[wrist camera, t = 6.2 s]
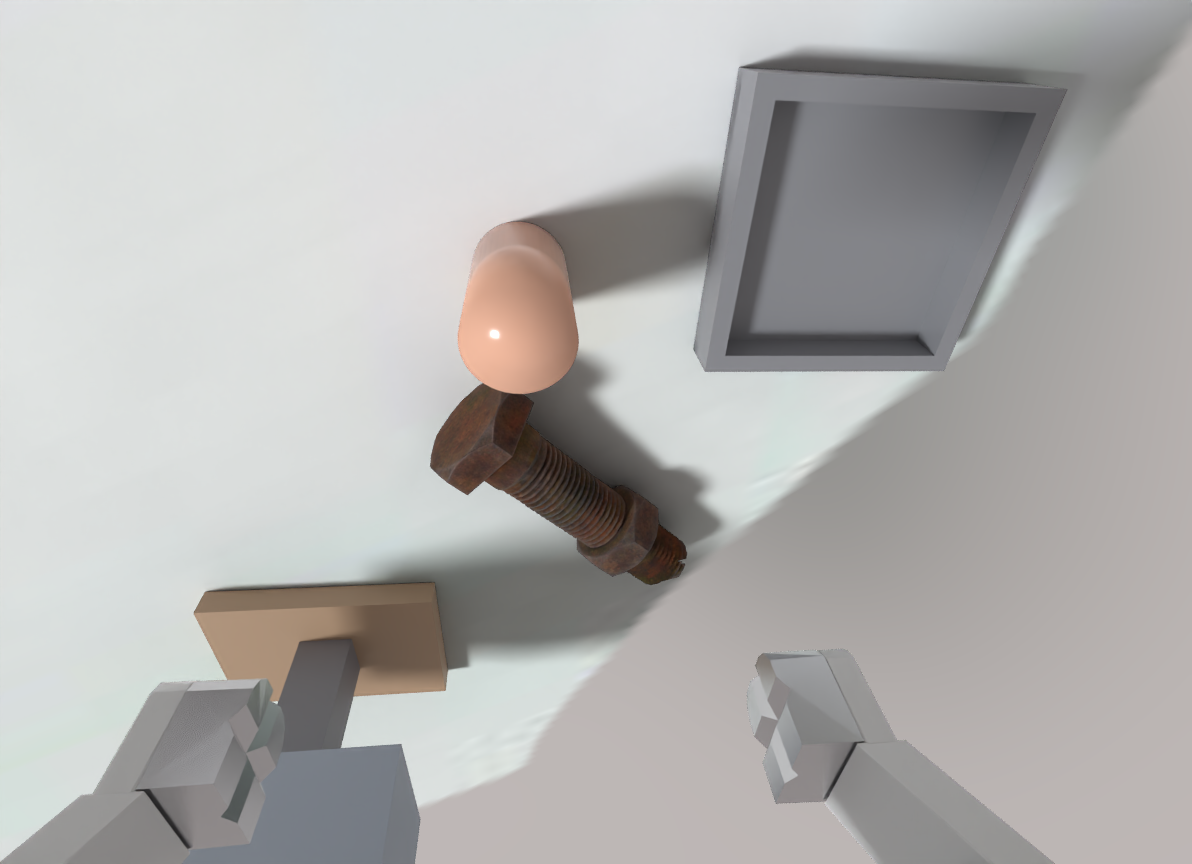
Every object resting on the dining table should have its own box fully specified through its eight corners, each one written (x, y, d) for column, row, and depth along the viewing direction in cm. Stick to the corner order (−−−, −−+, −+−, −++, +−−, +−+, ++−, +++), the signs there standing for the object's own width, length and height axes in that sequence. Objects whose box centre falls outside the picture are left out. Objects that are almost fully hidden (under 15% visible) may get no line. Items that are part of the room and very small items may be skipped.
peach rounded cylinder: (469, 220, 24) (452, 284, 19) (567, 222, 25) (580, 285, 19) (475, 312, 27) (462, 394, 21) (565, 312, 27) (576, 393, 21)
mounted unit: (204, 592, 35) (-38, 1036, 20) (434, 582, 36) (371, 989, 21) (250, 687, 40) (88, 1092, 25) (448, 675, 42) (406, 1052, 27)
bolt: (645, 525, 38) (459, 389, 30) (711, 515, 35) (519, 358, 27) (624, 614, 35) (411, 487, 27) (694, 612, 32) (472, 467, 24)
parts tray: (739, 67, 22) (758, 72, 20) (1025, 83, 23) (1066, 89, 22) (693, 349, 29) (704, 371, 27) (919, 349, 30) (944, 370, 28)
